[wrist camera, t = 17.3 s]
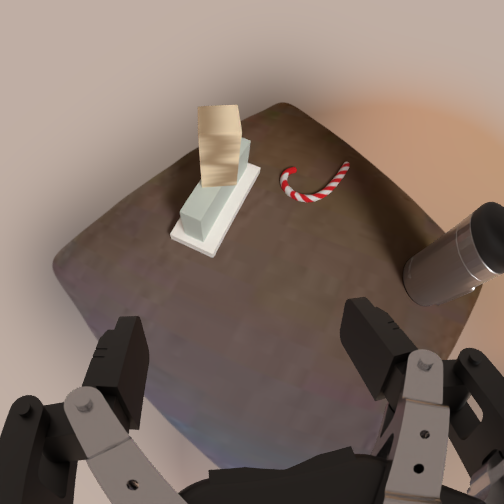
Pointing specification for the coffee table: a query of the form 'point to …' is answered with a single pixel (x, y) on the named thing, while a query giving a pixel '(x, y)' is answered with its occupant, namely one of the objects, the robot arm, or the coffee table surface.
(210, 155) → the pine block
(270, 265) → the coffee table surface
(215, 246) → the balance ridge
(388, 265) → the coffee table surface
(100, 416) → the robot arm
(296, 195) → the candy cane
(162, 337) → the coffee table surface
